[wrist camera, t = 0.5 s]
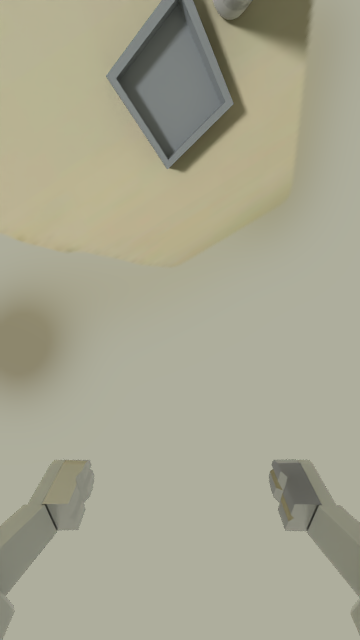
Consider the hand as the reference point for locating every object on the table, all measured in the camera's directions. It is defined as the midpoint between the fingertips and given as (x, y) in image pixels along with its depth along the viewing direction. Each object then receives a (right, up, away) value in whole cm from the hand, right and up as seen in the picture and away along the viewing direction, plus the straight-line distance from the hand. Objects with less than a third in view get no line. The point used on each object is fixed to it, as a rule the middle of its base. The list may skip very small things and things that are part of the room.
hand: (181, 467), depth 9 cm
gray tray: (-2, +44, +25) cm, 51 cm away
